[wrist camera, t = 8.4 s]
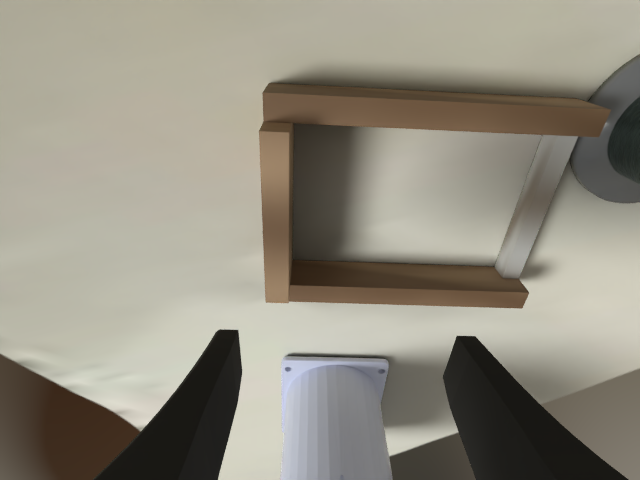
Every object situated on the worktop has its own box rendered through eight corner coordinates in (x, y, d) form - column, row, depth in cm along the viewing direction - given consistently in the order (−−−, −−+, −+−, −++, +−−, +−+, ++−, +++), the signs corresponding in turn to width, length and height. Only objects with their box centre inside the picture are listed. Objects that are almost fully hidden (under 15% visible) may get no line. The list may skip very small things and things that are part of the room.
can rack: (503, 282, 24) (535, 326, 21) (273, 274, 23) (266, 319, 20) (576, 98, 18) (637, 118, 15) (269, 82, 17) (258, 99, 14)
